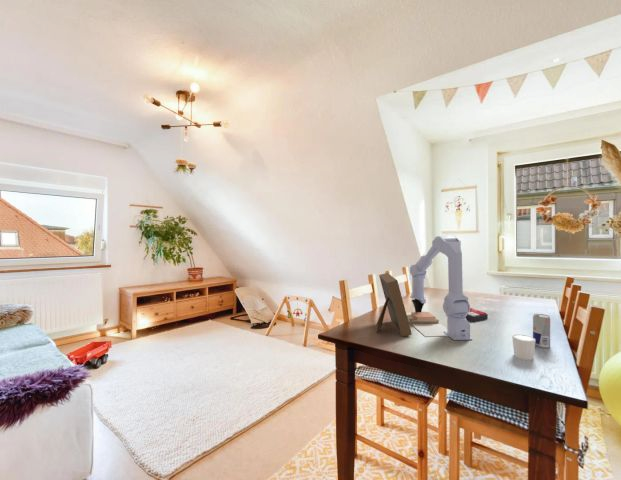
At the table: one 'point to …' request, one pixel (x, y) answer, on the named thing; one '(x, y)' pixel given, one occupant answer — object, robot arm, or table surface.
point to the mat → (431, 329)
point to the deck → (420, 321)
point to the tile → (423, 316)
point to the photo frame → (393, 305)
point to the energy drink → (541, 330)
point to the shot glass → (523, 346)
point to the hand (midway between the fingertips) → (418, 313)
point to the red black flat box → (476, 315)
